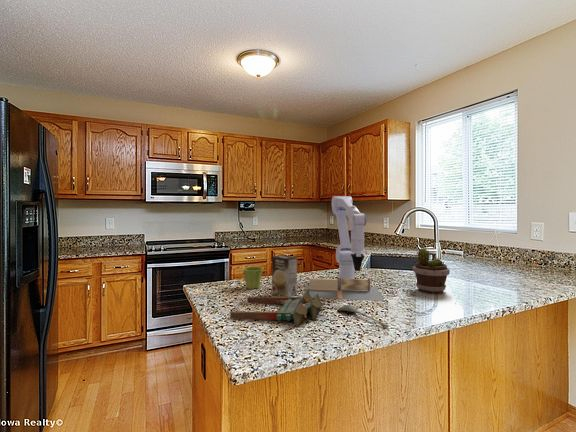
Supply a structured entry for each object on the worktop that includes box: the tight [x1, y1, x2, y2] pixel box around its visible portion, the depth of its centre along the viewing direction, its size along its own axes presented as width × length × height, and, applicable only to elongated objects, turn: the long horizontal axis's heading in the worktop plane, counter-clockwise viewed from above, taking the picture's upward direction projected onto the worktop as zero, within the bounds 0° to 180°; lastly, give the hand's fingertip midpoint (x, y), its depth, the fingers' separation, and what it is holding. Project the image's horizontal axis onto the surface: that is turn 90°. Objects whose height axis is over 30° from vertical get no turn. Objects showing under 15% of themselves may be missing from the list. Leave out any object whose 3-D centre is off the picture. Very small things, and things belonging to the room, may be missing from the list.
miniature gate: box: [229, 290, 326, 329], centre depth 111 cm, size 27×6×30 cm
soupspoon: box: [337, 304, 389, 329], centre depth 105 cm, size 22×3×7 cm
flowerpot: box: [412, 246, 451, 295], centre depth 140 cm, size 14×15×20 cm
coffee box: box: [271, 254, 298, 297], centre depth 133 cm, size 9×6×16 cm
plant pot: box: [242, 266, 264, 290], centre depth 145 cm, size 9×9×9 cm
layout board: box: [301, 276, 386, 302], centre depth 135 cm, size 22×32×6 cm
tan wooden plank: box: [341, 278, 371, 291], centre depth 138 cm, size 12×1×5 cm, turn 82°
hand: (357, 270), depth 143 cm, fingers closed
